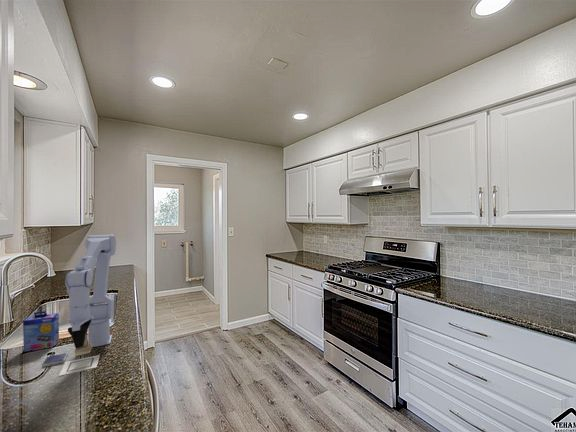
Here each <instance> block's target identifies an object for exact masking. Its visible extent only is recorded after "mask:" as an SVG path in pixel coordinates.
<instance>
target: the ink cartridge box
mask: <svg viewBox="0 0 576 432" xmlns="http://www.w3.org/2000/svg"><path fill="white" fill-rule="evenodd" d="M33 314H34V315H32V316H30V315H29V316H28V317H27V318H25V319H23V320H22V327H23V328H22V332H23V334H22V335H23V339H22V340H23V352H24V353H25V352H30V351H31V350H32V351H36V350H44V348H45V349H50V348H49V347H51V348H54V347H53V346H55V345H56V344H57V343H58V342H59V343H60V324H59V317H60V316H59V313H58V312H54V313H47V312H46V311H44V310H42V311H35V312H33ZM59 343H58V344H59ZM58 344H57V345H58ZM57 345H56V346H57ZM56 346H55V347H56Z"/></svg>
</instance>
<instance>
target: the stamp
mask: <svg viewBox="0 0 576 432" xmlns="http://www.w3.org/2000/svg"><path fill="white" fill-rule="evenodd" d="M86 333H87V334H88V331H86ZM92 349H93V347H92V344H91V342H89V343H88V335H87V336H86V335H85V341H84V345H83V347H79V348H75V349H74V356H75V357H76V358H78V357H82V356H87V355H89V354H90V353H91V352H92Z"/></svg>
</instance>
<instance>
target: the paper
mask: <svg viewBox="0 0 576 432" xmlns="http://www.w3.org/2000/svg"><path fill="white" fill-rule="evenodd" d="M100 356H101V354H97V355H96V354H95V355H93V356H88V357H83V358H79V359H74V360H68V361H65V362H64V364H63V367H62V368H61V370H60V373H58V377H61V376H66V375H70V374H76V373H79V372H83V371H88V370H92V369H96V368H97V367H98V363H99V361H100Z"/></svg>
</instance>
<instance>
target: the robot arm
mask: <svg viewBox="0 0 576 432" xmlns="http://www.w3.org/2000/svg"><path fill="white" fill-rule="evenodd" d="M84 243H85V248H86V252H85V254H84V255H83V256H81V257H80V258H79V260H78V261H77V263H76V265H75V266H74V269H73V270H71V271H70V272H68V273H66V276H65V281H64V284H65V287H66V293H67V294H68V311H69V312H68V315H69V317H68V318H69V320H68V323H69V324H70V327H68V328H67V332H68V334H69V335H70V336H71V338H72V341H73V345H74V348H75V349H76V348H79V347H83V345H84V341H85V335H86V336H87V337H88V340H87V343H89V342H91V344H92V348H95V347H101V346H104V345H105V346H106V345H110V344H111V343H112V342H111V341H112V338H113V334H111V329H110V328H111V326H110V320H112V318H113V317H114V314H115V301H114V299H113V298H111V296H108V285H109V284H108V283H109V274H110V273H109V272H110V262H111V257H112V256H114V255H115V254H116V249H117V237H116V236H115V234H114V233H113V234H99V235H98V234H97V235H96V234H93V235H92V234H91V235H90V234H89V235H87V236H86V238H85V242H84ZM94 271H95V274H94ZM93 277H94V278H93ZM93 279H94V284H93V293H92V296H91V297H90V295H91V293H90V291H91V290H90V286H91V285H92V282H93ZM86 331H87V333H86Z"/></svg>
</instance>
